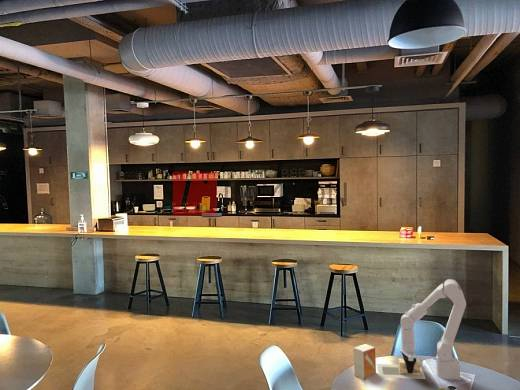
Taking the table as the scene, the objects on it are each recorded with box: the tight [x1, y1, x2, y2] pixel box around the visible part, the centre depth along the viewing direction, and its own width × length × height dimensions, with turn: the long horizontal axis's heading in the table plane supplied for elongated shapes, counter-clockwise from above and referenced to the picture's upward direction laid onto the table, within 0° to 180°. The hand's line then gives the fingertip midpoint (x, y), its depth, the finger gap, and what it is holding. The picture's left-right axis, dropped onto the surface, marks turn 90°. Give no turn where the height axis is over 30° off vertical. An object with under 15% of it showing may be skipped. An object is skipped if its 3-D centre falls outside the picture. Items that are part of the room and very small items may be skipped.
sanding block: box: [397, 357, 421, 374], centre depth 196 cm, size 9×5×5 cm, turn 79°
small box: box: [353, 343, 377, 380], centre depth 197 cm, size 8×6×13 cm
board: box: [376, 363, 427, 380], centre depth 197 cm, size 20×14×1 cm
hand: (409, 370), depth 196 cm, fingers closed on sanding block, 5 cm apart
